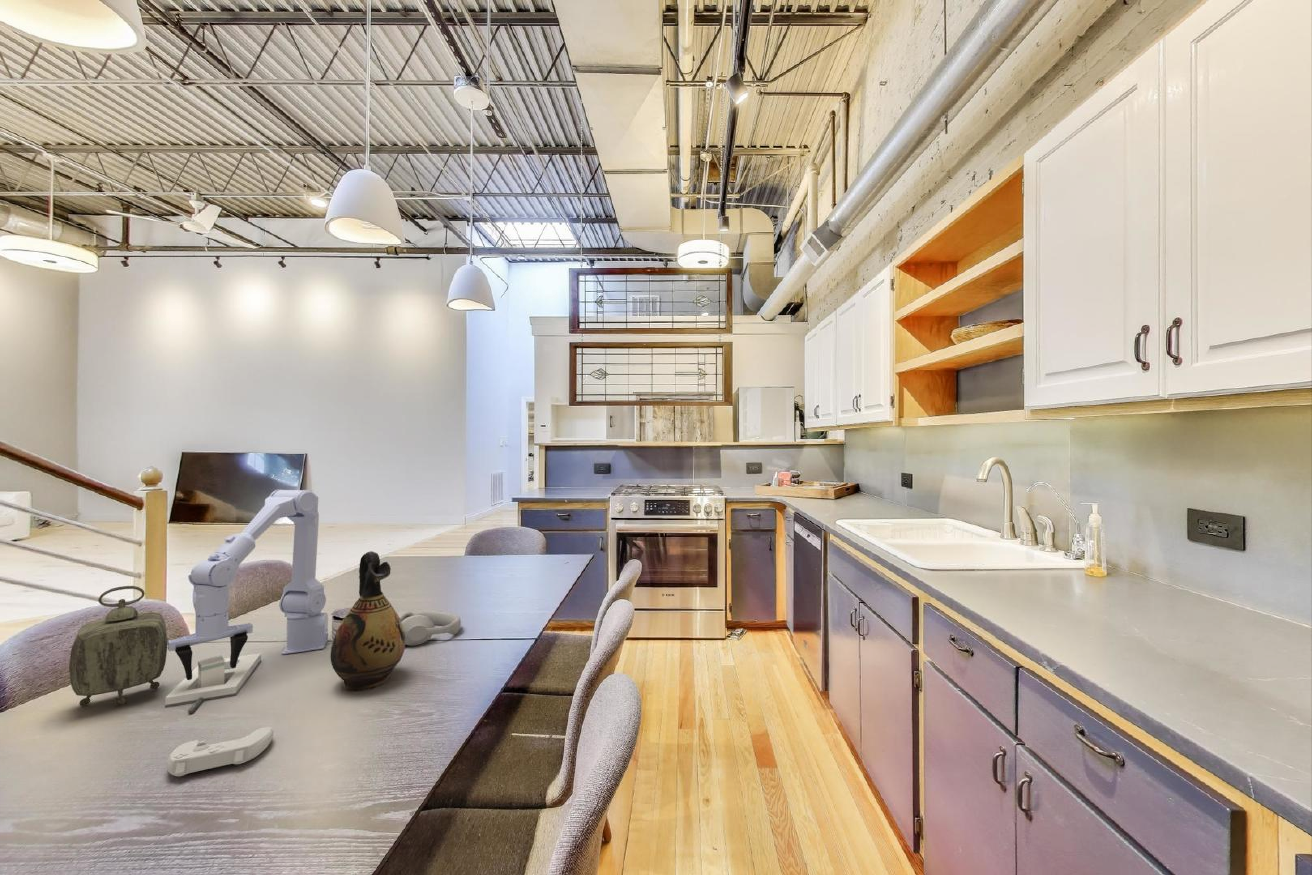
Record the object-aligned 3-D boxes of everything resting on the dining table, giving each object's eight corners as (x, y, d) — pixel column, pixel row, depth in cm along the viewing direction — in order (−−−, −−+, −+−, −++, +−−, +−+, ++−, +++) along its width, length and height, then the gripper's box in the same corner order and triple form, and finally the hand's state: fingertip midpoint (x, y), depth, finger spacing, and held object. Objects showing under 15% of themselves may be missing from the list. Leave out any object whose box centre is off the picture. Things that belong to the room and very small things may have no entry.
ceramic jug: (415, 680, 121) (416, 553, 121) (342, 704, 109) (343, 564, 110) (389, 659, 132) (389, 544, 133) (320, 679, 121) (321, 553, 121)
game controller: (278, 719, 98) (263, 734, 89) (276, 744, 97) (261, 762, 88) (181, 737, 92) (154, 755, 83) (178, 764, 91) (151, 785, 82)
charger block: (221, 680, 119) (221, 655, 119) (224, 686, 117) (224, 659, 117) (197, 687, 116) (198, 660, 116) (200, 692, 114) (201, 665, 114)
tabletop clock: (166, 684, 119) (167, 577, 119) (166, 697, 112) (168, 584, 113) (72, 706, 109) (74, 589, 109) (66, 722, 102) (69, 598, 103)
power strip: (260, 661, 131) (260, 652, 131) (226, 707, 108) (226, 697, 108) (201, 669, 126) (201, 661, 126) (151, 721, 103) (152, 710, 103)
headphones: (409, 652, 136) (471, 638, 152) (413, 622, 137) (474, 611, 153) (371, 638, 145) (433, 627, 162) (375, 610, 146) (436, 602, 163)
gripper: (247, 601, 125) (247, 657, 124) (166, 617, 113) (165, 678, 113) (255, 607, 120) (254, 665, 120) (171, 624, 109) (170, 688, 109)
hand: (211, 672), depth 116 cm, fingers open, 7 cm apart
